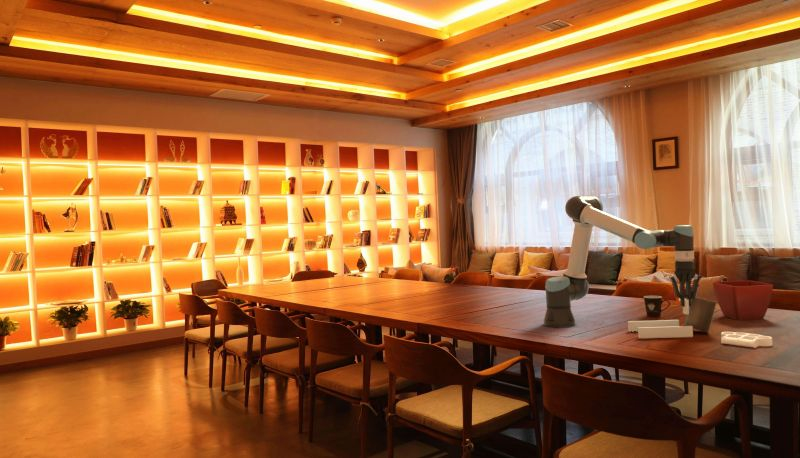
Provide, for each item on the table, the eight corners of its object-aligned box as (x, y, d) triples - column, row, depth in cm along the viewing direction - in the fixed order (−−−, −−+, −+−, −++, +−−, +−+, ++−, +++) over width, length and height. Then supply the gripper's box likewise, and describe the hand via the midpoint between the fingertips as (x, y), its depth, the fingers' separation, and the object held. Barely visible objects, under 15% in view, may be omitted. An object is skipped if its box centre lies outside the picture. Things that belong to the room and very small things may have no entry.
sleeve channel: (639, 338, 237) (638, 327, 237) (628, 331, 253) (627, 321, 252) (692, 336, 235) (692, 326, 235) (678, 329, 250) (677, 319, 250)
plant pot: (776, 319, 261) (774, 284, 261) (735, 321, 261) (733, 286, 261) (751, 313, 280) (749, 280, 280) (713, 315, 280) (711, 281, 280)
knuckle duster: (712, 344, 223) (727, 338, 232) (763, 350, 209) (777, 344, 218) (712, 335, 223) (727, 330, 232) (763, 342, 209) (776, 335, 218)
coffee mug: (640, 316, 287) (640, 297, 287) (652, 314, 290) (651, 295, 290) (659, 319, 276) (658, 299, 276) (671, 317, 280) (671, 297, 280)
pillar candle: (711, 334, 237) (720, 300, 237) (687, 327, 239) (696, 293, 239) (703, 331, 246) (713, 299, 246) (680, 324, 248) (690, 292, 248)
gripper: (672, 261, 239) (673, 315, 240) (703, 260, 238) (705, 315, 238) (665, 260, 247) (667, 312, 247) (696, 259, 245) (697, 311, 246)
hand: (685, 313), depth 243 cm, fingers closed
